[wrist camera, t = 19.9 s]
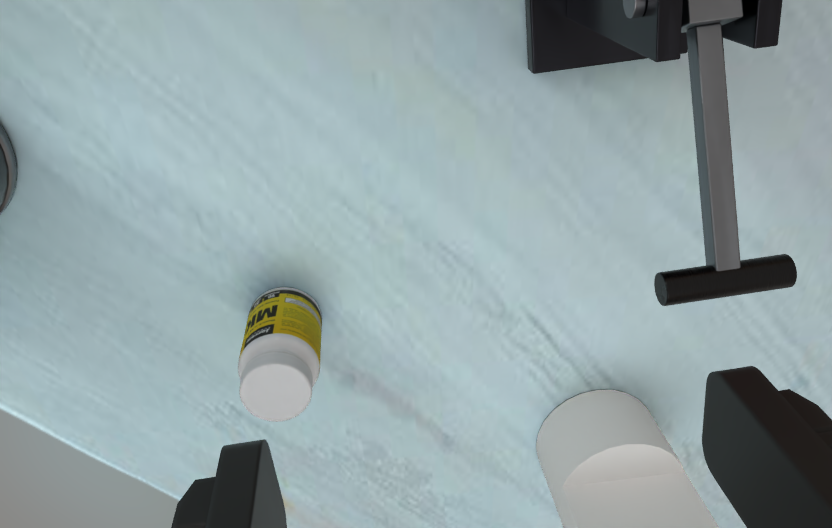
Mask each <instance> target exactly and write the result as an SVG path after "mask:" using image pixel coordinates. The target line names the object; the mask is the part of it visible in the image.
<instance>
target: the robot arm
mask: <svg viewBox="0 0 832 528" xmlns="http://www.w3.org/2000/svg"><path fill="white" fill-rule="evenodd" d="M16 180H17V166H16V159H15V155H14V151H13V148H12V146H11V143H10V141H9V139H8V137H7V135H6V133H5V131H4V130H3V128H2V126H1V125H0V214H1V213H2V212H3V211H4V210H5V208H6V207H7V206H8V204H9V202H10V200H11V198H12V196H13V193H14V190H15V186H16ZM702 446H703V452H704V456H705V460H706V463H707V465H708V468H709V470H710V472H711V473H712V475H713V477H714V478H715V480H716V481H717V483H718V484H719V486H720V487H721V489H722V490H723V492H724V493H725V495H726V496H727V498H728V499H729V501H730V502H731V504H732V505H733V507H734V508H735V510H736V512H737V513H738V515H739V516H740V518H741V519H742V521H743V522H744V524H745V525H746V527H747V528H832V420H831V419H830V418H829V417H828V415H827V414H826V413H825V412H824V411H823V410H822V409H821V408H820V407H819V406H818V405H816V404H815V403H813V402H811V401H809V400H807V399H806V398H804V397H802V396H800V395H799V394H797V393H795V392H793V391H791V390H790V389H788V390H782V391H778V390H777V389H776V388H775V387H774V386H773V385H772V383H771V382H770V381H769V380H768V379H767V378H766V377H765V376H764V375H763V374H762V372H761V371H760V370H759V369H757V368H756V367H753V366H749V367H742V368H736V369H729V370H723V371H716V372H712V373H710V374H709V376H708V378H707V383H706V395H705V407H704V420H703V433H702ZM171 528H287V525H286V514H285V508H284V503H283V499H282V495H281V491H280V487H279V483H278V480H277V476H276V472H275V468H274V464H273V460H272V456H271V453H270V449H269V446H268V443H267V441H266V440H258V441H252V442H245V443H239V444H232V445H226V446H223V447H222V450H221V453H220V458H219V463H218V468H217V472H216V477H211V478H205V479H199V480H195V481H194V482H193V484H192V485H191V486H190V488H189V489H188V491H187V492H186V493H185V495H184V496H183V497H182V499H181V500H180V501H179V503H178V504H177V508H176V512H175V516H174V520H173V523H172V527H171Z"/></svg>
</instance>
